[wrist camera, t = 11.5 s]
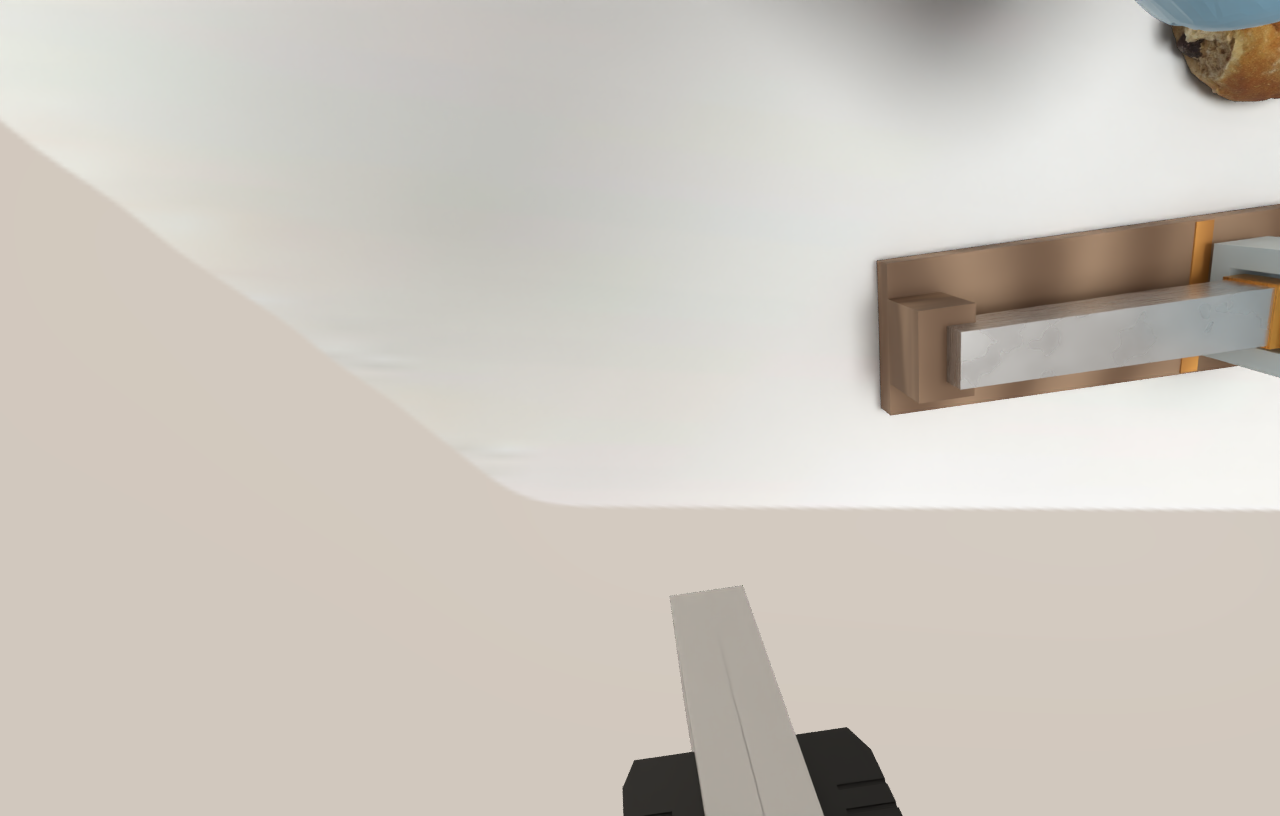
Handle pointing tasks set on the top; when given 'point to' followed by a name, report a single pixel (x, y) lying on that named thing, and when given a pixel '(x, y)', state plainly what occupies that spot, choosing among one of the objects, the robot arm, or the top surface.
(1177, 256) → the base board
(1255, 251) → the slotted grey-blue plate
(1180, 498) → the top surface
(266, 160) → the top surface
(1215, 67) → the bread roll
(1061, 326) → the grey square bar
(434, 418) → the top surface
